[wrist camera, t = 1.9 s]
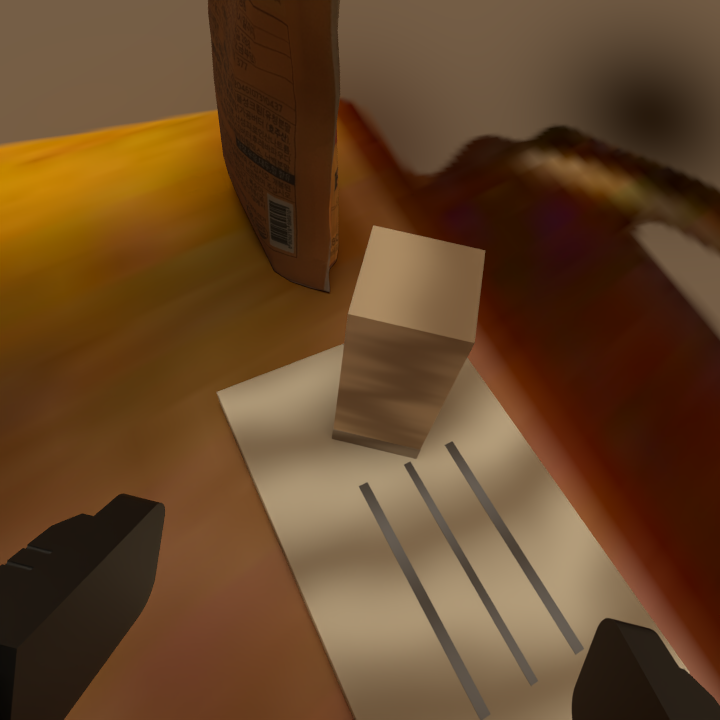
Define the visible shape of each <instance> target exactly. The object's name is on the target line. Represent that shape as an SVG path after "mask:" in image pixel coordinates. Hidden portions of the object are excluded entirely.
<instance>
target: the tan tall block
mask: <svg viewBox="0 0 720 720" xmlns="http://www.w3.org/2000/svg"><path fill="white" fill-rule="evenodd" d="M484 257H485V250H480V249H476V248H471V247H467V246H462V245H458V244H453V243H449V242H445V241H440V240H436V239H431V238H427V237H422V236H418V235H414V234H409V233H405V232H400V231H396V230H391V229H387V228H383V227H378V226H374V225H373V228H372V232H371V235H370V239H369V242H368V246H367V249H366V253H365V256H364V260H363V263H362V267H361V270H360V274H359V277H358V281H357V284H356V288H355V291H354V295H353V298H352V302H351V305H350V309H349V312H348V318H347V326H346V334H345V342H344V350H343V358H342V366H341V374H340V382H339V389H338V397H337V405H336V413H335V421H334V427H333V432H332V439H334V440H339V441H343V442H347V443H351V444H355V445H359V446H364V447H368V448H372V449H376V450H380V451H385V452H389V453H393V454H397V455H401V456H405V457H410V458H414V459H416V458H417V456H418V455H419V453H420V451H421V447H422V445H423V443H424V441H425V439H426V437H427V435H428V433H429V431H430V429H431V427H432V425H433V423H434V422H435V420H436V418H437V416H438V414H439V412H440V410H441V408H442V406H443V404H444V402H445V400H446V398H447V396H448V394H449V392H450V390H451V388H452V386H453V384H454V382H455V380H456V378H457V376H458V374H459V372H460V370H461V368H462V367H463V365H464V363H465V361H466V359H467V357H468V355H469V353H470V351H471V349H472V347H473V345H474V343H475V334H476V325H477V317H478V308H479V300H480V291H481V283H482V274H483V266H484Z"/></svg>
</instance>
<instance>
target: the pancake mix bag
mask: <svg viewBox="0 0 720 720" xmlns="http://www.w3.org/2000/svg"><path fill="white" fill-rule="evenodd" d="M339 4H340V0H208V14H209V24H210V32H211V43H212V57H213V73H214V84H215V92H216V100H217V108H218V117H219V125H220V133H221V141H222V149H223V156H224V159H225V163H226V167H227V170H228V174H229V176H230V179H231V181H232V183H233V186H234V188H235V191H236V193H237V195H238V197H239V199H240V201H241V203H242V206H243V208H244V210H245V212H246V214H247V216H248V218H249V220H250V222H251V224H252V226H253V228H254V230H255V232H256V234H257V236H258V238H259V240H260V242H261V244H262V246H263V248H264V250H265V252H266V255H267V257H268V259H269V261H270V263H271V265H272V267H273V269H274V271H275V272H277V273H278V274H280V275H282V276H283V277H285V278H286V279H288V280H290V281H291V282H295V283H298V284H301V285H304V286H307V287H310V288H314V289H318V290H323V291H327V292H330V286H329V269H330V268H331V267H332V265H333V264H334V263H335V262H336V260H337V253H338V246H339V241H338V213H339V194H338V161H337V124H336V123H337V114H338V106H339V99H340V69H339V67H340V66H339V48H338V31H337V30H338V17H339Z"/></svg>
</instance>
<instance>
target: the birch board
mask: <svg viewBox="0 0 720 720" xmlns="http://www.w3.org/2000/svg"><path fill="white" fill-rule="evenodd" d="M343 350H344V344H342V345H339V346H337V347H334V348H331V349H329V350H326V351H323V352H321V353H318V354H316V355H313V356H310V357H308V358H305V359H302V360H300V361H297V362H295V363H292V364H289V365H287V366H284V367H281V368H279V369H276V370H274V371H271V372H268V373H266V374H263V375H260V376H258V377H255V378H253V379H250V380H247V381H245V382H242V383H239V384H237V385H234V386H231V387H229V388H226V389H224V390H221V391H218V392H217V395H218V398H219V402H220V405H221V407H222V410H223V412H224V414H225V417H226V419H227V421H228V424H229V426H230V428H231V431H232V433H233V436H234V438H235V440H236V443H237V445H238V447H239V450H240V452H241V454H242V457H243V459H244V461H245V464H246V466H247V469H248V471H249V473H250V476H251V478H252V480H253V483H254V485H255V487H256V490H257V492H258V494H259V497H260V499H261V501H262V504H263V506H264V509H265V511H266V513H267V516H268V518H269V520H270V523H271V525H272V527H273V530H274V532H275V534H276V537H277V539H278V541H279V544H280V546H281V549H282V551H283V553H284V556H285V558H286V560H287V563H288V565H289V567H290V570H291V572H292V574H293V577H294V579H295V582H296V584H297V586H298V589H299V591H300V593H301V596H302V598H303V600H304V603H305V605H306V607H307V610H308V612H309V614H310V617H311V619H312V622H313V624H314V626H315V629H316V631H317V633H318V636H319V638H320V640H321V643H322V645H323V647H324V650H325V652H326V654H327V657H328V659H329V662H330V664H331V666H332V669H333V671H334V673H335V676H336V678H337V680H338V683H339V685H340V687H341V690H342V692H343V695H344V697H345V699H346V702H347V704H348V706H349V709H350V711H351V713H352V716H353V718H354V720H572V696H573V691H574V687H575V684H576V682H577V679H578V677H579V674H580V671H581V669H582V666H583V664H584V661H585V658H586V656H587V653H588V651H589V648H590V645H591V643H592V640H593V638H594V635H595V632H596V630H597V628H598V625H599V624H600V622H601V621H602V620H603V619H605V618H611V619H615V620H619V621H623V622H627V623H631V624H635V625H639V626H643V627H646V628H650V629H652V630H654V631H655V632H656V633H657V634H658V635H659V637H660V638H661V640H662V641H663V643H664V644H665V646H666V647H667V649H668V651H669V652H670V654H671V655H672V657H673V658H674V660H675V661H676V663H677V664H678V666H679V667H680V668H682V669H685V670H686V671H687V672H688V673H689V674H690V672H689V671H688V669H687V668H686V667H685V665H684V664H683V662H682V661H681V659H680V658H679V657H678V655H677V654H676V652H675V651H674V650H673V648H672V647H671V645H670V644H669V642H668V641H667V640H666V638H665V637H664V635H663V634H662V633H661V631H660V630H659V628H658V627H657V626H656V624H655V623H654V621H653V620H652V618H651V617H650V616H649V614H648V613H647V611H646V610H645V609H644V607H643V606H642V604H641V603H640V601H639V600H638V599H637V597H636V596H635V594H634V593H633V592H632V590H631V589H630V587H629V586H628V584H627V583H626V582H625V580H624V579H623V577H622V576H621V575H620V573H619V572H618V570H617V569H616V567H615V566H614V565H613V563H612V562H611V560H610V559H609V558H608V556H607V555H606V553H605V552H604V550H603V549H602V548H601V546H600V545H599V543H598V542H597V541H596V539H595V538H594V536H593V535H592V533H591V532H590V531H589V529H588V528H587V526H586V525H585V524H584V522H583V521H582V519H581V518H580V516H579V515H578V514H577V512H576V511H575V509H574V508H573V507H572V505H571V504H570V502H569V501H568V499H567V498H566V497H565V495H564V494H563V492H562V491H561V490H560V488H559V487H558V485H557V484H556V483H555V481H554V480H553V478H552V477H551V475H550V474H549V473H548V471H547V470H546V468H545V467H544V466H543V464H542V463H541V461H540V460H539V458H538V457H537V456H536V454H535V453H534V451H533V450H532V449H531V447H530V446H529V444H528V443H527V441H526V440H525V439H524V437H523V436H522V434H521V433H520V432H519V430H518V429H517V427H516V426H515V424H514V423H513V422H512V420H511V419H510V417H509V416H508V415H507V413H506V412H505V410H504V409H503V407H502V406H501V405H500V403H499V402H498V400H497V399H496V398H495V396H494V395H493V393H492V392H491V390H490V389H489V388H488V386H487V385H486V383H485V382H484V381H483V379H482V378H481V376H480V375H479V373H478V372H477V371H476V369H475V368H474V366H473V365H472V364H471V362H470V361H469V359H468V358H467V359H466V361H465V363H464V365H463V367H462V368H461V370H460V372H459V374H458V376H457V378H456V380H455V382H454V384H453V386H452V388H451V390H450V392H449V394H448V396H447V398H446V400H445V402H444V404H443V406H442V408H441V410H440V412H439V414H438V416H437V418H436V420H435V422H434V423H433V425H432V427H431V429H430V431H429V433H428V435H427V437H426V439H425V441H424V443H423V445H422V447H421V451H420V453H419V455H418V456H417V458H416V459H414V458H410V457H405V456H401V455H397V454H393V453H389V452H385V451H380V450H376V449H372V448H368V447H364V446H359V445H355V444H351V443H347V442H343V441H339V440H334V439H332V432H333V427H334V421H335V413H336V405H337V397H338V389H339V382H340V374H341V366H342V358H343Z"/></svg>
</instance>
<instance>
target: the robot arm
mask: <svg viewBox="0 0 720 720" xmlns="http://www.w3.org/2000/svg"><path fill="white" fill-rule="evenodd" d="M164 517H165V507H164V505H163V504H162V503H159V502H155V501H151V500H147V499H143V498H139V497H135V496H131V495H127V494H120V495H118V496H117V497H116V498H114V499H113V500H112V501H111V502H110V503H109V504H107V505H106V506H105V507H104V508H103V509H102V510H100V511H99V512H98V513H97V514H96V515H95V516H90V515H86V514H80V515H77V516H75V517H72V518H70V519H67V520H65V521H62V522H60V523H57V524H55V525H53V526H51V527H49V528H48V529H47V530H46V531H44V532H43V533H42V534H40V535H39V536H38V537H37V538H35V539H34V540H33V541H32V542H30V543H29V544H28V546H27V548H26V549H25V548H23V549H21V550H20V551H19V552H18V553H16V554H15V555H14V556H12V557H11V558H10V559H9V560H8V561H7V563H6V565H3V564H2V565H1V566H0V720H64V719H65V717H66V716H67V714H68V713H69V712H70V710H71V709H72V708H73V706H74V705H75V703H76V702H77V701H78V699H79V698H80V697H81V695H82V694H83V692H84V691H85V690H86V688H87V687H88V686H89V684H90V683H91V681H92V680H93V679H94V677H95V676H96V675H97V673H98V672H99V670H100V669H101V668H102V666H103V665H104V664H105V662H106V661H107V659H108V658H109V657H110V655H111V654H112V652H113V651H114V650H115V648H116V647H117V646H118V644H119V643H120V641H121V640H122V639H123V637H124V636H125V635H126V633H127V632H128V630H129V629H130V628H131V626H132V625H133V624H134V622H135V621H136V619H137V618H138V617H139V615H140V614H141V612H142V610H143V609H144V607H145V605H146V603H147V601H148V598H149V596H150V593H151V591H152V588H153V584H154V580H155V575H156V569H157V562H158V556H159V549H160V543H161V536H162V530H163V523H164ZM572 720H720V706H719V704H718V703H717V701H716V700H715V698H714V697H713V696H712V695H710V694H709V693H708V692H707V691H706V690H705V689H704V688H703V687H702V686H701V685H700V684H699V683H698V682H697V681H696V680H695V679H694V678H693V677H692V676H691V675H690V674H689V673H688V672H687V671H686V670H685V669H682V668H680V667H679V666H678V664H677V663H676V661H675V660H674V658H673V657H672V655H671V654H670V652H669V651H668V649H667V647H666V646H665V644H664V643H663V641H662V640H661V638H660V637H659V635H658V634H657V633H656V632H655V631H654V630H652V629H650V628H646V627H643V626H639V625H635V624H631V623H627V622H623V621H619V620H615V619H611V618H605V619H603V620H602V621H601V622H600V624H599V625H598V628H597V630H596V632H595V635H594V638H593V640H592V643H591V645H590V648H589V651H588V653H587V656H586V658H585V661H584V664H583V666H582V669H581V671H580V674H579V677H578V679H577V682H576V684H575V687H574V691H573V696H572Z"/></svg>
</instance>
